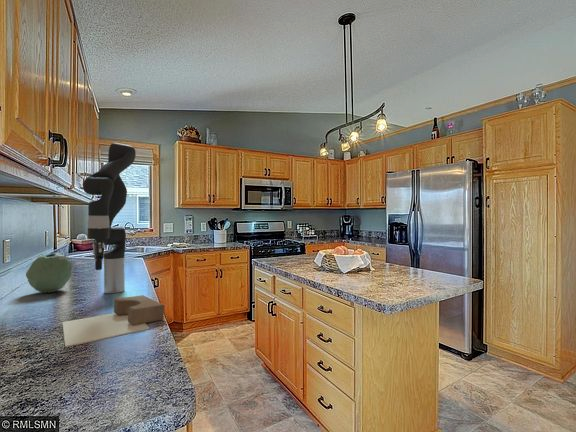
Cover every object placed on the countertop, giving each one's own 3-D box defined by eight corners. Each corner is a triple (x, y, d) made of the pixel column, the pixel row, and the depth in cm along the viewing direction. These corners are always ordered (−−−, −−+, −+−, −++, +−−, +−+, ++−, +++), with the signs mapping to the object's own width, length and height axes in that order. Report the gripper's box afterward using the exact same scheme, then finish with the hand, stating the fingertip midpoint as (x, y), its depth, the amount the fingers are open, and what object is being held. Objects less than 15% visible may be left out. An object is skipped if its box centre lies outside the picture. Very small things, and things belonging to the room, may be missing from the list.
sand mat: (62, 323, 109) (62, 322, 109) (133, 310, 123) (133, 309, 123) (65, 347, 89) (65, 346, 89) (149, 329, 103) (149, 327, 103)
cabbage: (25, 292, 156) (25, 253, 156) (70, 286, 168) (70, 250, 168) (26, 298, 144) (26, 256, 144) (74, 291, 156) (74, 252, 157)
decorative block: (113, 312, 118) (132, 325, 104) (114, 298, 118) (133, 308, 105) (142, 308, 126) (163, 320, 112) (143, 295, 126) (165, 304, 112)
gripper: (86, 226, 126) (86, 268, 126) (88, 227, 116) (88, 273, 116) (107, 226, 131) (107, 266, 131) (111, 227, 120) (111, 271, 120)
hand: (98, 269), depth 123 cm, fingers closed
